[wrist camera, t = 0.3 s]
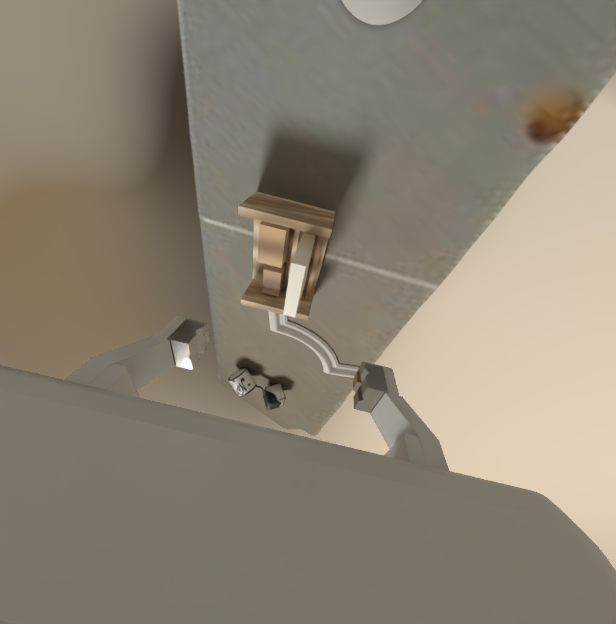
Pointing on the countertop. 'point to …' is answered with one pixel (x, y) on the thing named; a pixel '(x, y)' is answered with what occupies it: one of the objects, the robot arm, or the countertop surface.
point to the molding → (311, 344)
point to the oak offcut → (273, 244)
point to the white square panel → (298, 274)
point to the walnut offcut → (273, 279)
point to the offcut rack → (299, 221)
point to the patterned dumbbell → (246, 384)
